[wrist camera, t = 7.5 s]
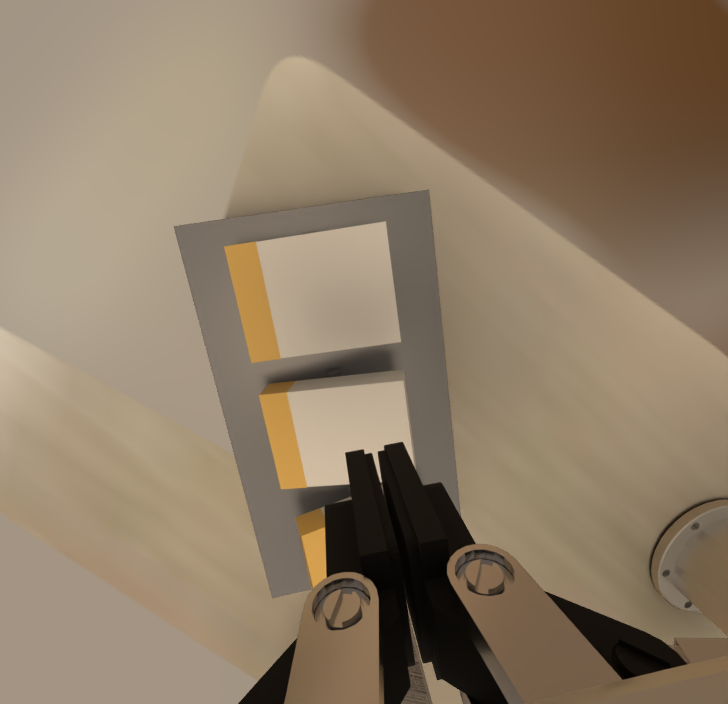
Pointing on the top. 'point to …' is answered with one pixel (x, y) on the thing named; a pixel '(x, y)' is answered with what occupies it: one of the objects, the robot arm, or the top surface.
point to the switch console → (321, 360)
